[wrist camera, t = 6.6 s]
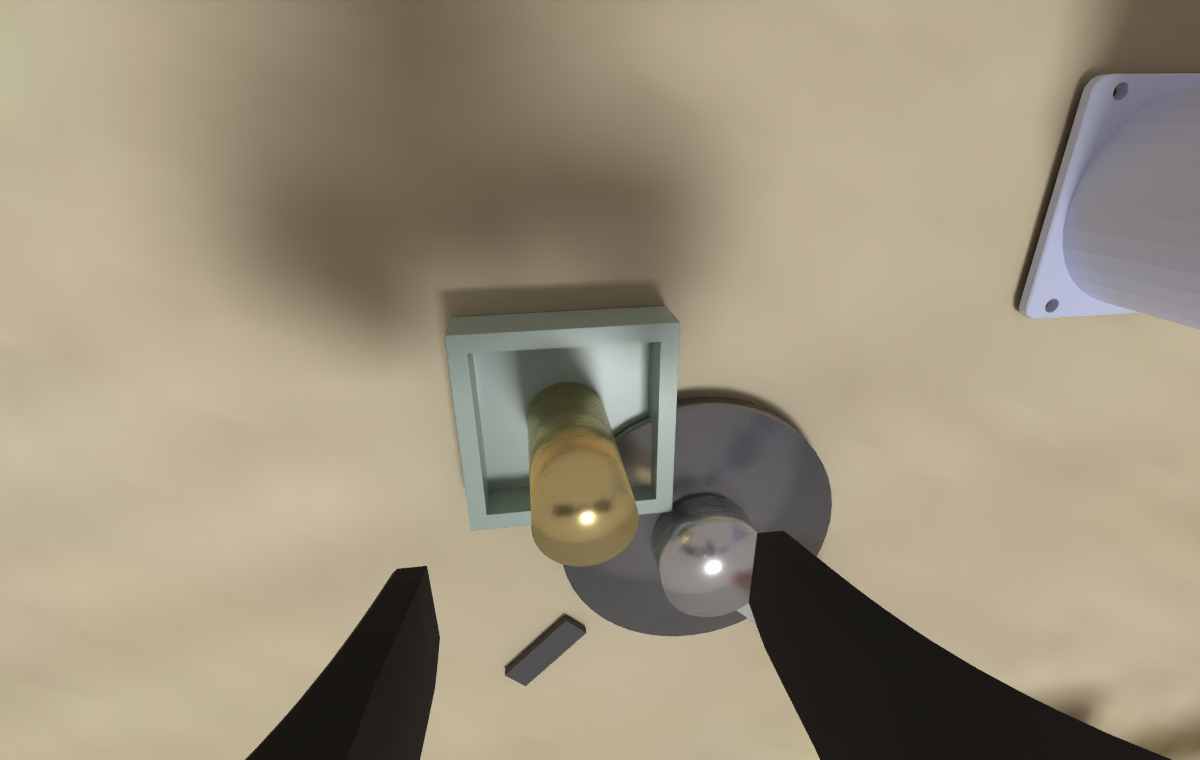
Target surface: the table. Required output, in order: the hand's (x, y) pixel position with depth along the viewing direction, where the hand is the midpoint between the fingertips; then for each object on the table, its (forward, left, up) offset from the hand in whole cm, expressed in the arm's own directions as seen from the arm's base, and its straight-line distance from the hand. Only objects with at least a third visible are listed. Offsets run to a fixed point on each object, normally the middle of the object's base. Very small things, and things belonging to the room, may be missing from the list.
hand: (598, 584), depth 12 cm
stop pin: (0, 0, -8) cm, 8 cm away
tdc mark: (+2, +12, -9) cm, 15 cm away
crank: (-7, +8, -7) cm, 13 cm away
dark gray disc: (-5, +6, -9) cm, 11 cm away
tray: (0, 0, -9) cm, 9 cm away
